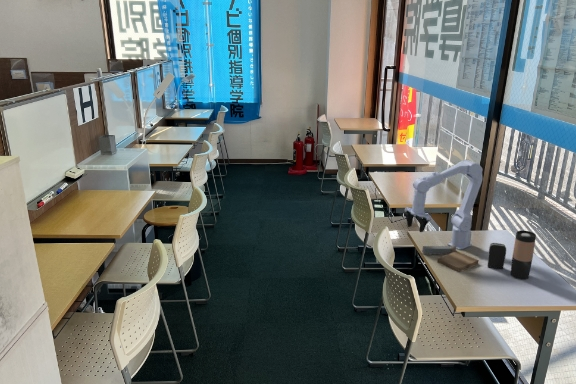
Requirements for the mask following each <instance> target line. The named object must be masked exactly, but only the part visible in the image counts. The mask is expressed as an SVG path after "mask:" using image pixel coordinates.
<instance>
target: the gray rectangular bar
mask: <svg viewBox="0 0 576 384" xmlns="http://www.w3.org/2000/svg"><path fill="white" fill-rule="evenodd" d="M422 253H423V255H448V254H450V253H451V246H450V245H422Z"/></svg>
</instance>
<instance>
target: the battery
mask: <svg viewBox="0 0 576 384" xmlns="http://www.w3.org/2000/svg"><path fill="white" fill-rule="evenodd" d="M506 255H507V247H506V245H505V244H503V243H499V242H498V243H497V242H492V243H490V244H489V247H488V257H487V266H486V267H488V268H493V269H499V270H500V269H501V270H503V269H504V266H505V265H504V264H505V260H506Z"/></svg>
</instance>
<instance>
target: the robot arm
mask: <svg viewBox="0 0 576 384" xmlns="http://www.w3.org/2000/svg"><path fill="white" fill-rule="evenodd" d="M458 174H461V175H466V176H467V178H468V179H469V181H468V184H467V188H466V190H465V192H464V195H463V198H462V200H461V204H460V206H459V209H457V210H455V213H454V215H452V217H451V219H450V222H451V224H452V231H451V232H452V233H451V240H450V241H451V242H448V243H446V244H447V245H446V246H450V247H451V245H455V246H456V250H459V251H461V250H464V249H467V248H468V247H469V248H470V247H471V246H472V244H471V241H472V231H471V228H472V220H473V217H472V214H471V212H472V210H473V208H474V204H475V202H476V199H477V197H478V193H479V191H480V188H481V185H482V183H483V179H484V178H483V167H482V166H481V165H480V164H479V163H478V162H477V163H476V162H474V161H472V160H470V159H468V158H466V159H465V158H464V159H463V160H462V161H458V162H457V163H456V164H455V165H452V166H451V167H449V168H446V169H445V170H443V171H441V172H438V171H436V172H435V171H433V172H431V174H429V175H427V176H423V177H422V178H416V179H415V181H414V183H412V187H413V188H414V192H413V198H412V199H413V200H412V207H408V206H406V207H404V217H405V219H406V225H407V228H411V227H412V225H413V220H414V217H415V216H418V217H419V233H423V232H424V231H425V228H426V226H427V225H428V223H429V222H430V221H431V215H430V214H428V213H426V212H425V206H426V198H427V192H428V191H429V190H430V189H431V188H432V187H435V186H438V185H439V184H442V183H443V181H444V180H445V179H448V178H450V177H452V176H455V175H458Z"/></svg>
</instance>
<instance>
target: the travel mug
mask: <svg viewBox="0 0 576 384" xmlns="http://www.w3.org/2000/svg"><path fill="white" fill-rule="evenodd" d="M536 238H537V235H536V233H535V232H532V231H529V230H523V229H522V230H517V231H516V234H515V239H514V244H513V245H514V246H513V252H512V258H511V267H510V275H511V277H512V278H514V279H517V280H527V279H529V277H530V273H531V268H532V263H533V259H534V258H533V257H534V251H535V246H536V245H535V244H536Z"/></svg>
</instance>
